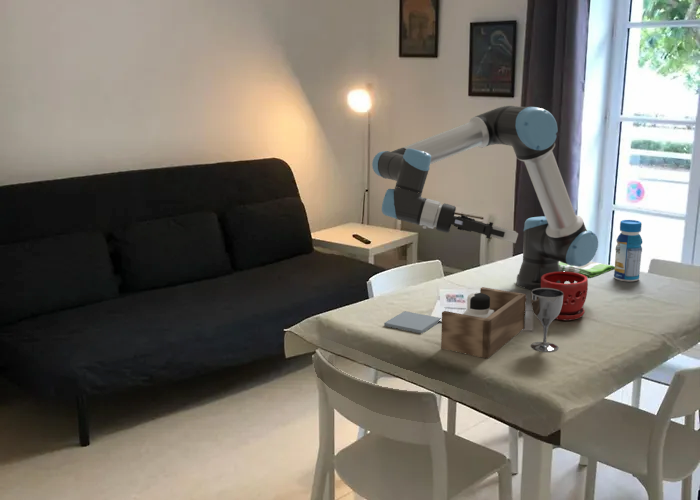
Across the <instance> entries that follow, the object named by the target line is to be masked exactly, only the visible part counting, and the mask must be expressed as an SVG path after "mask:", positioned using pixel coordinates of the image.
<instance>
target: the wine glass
mask: <svg viewBox="0 0 700 500" xmlns="http://www.w3.org/2000/svg"><path fill="white" fill-rule="evenodd" d="M530 296H531V297H530V299H531V300H530V301H531V302H530V303H531V308H532V312H533V314H534V316H535V317H536V318H537V319H538V320H539V321H540V323H541V327H542V329H543V338H542V339H543V340H542V341H537V342H533V343H531V344H530V349H532V350H534V351H537V352H541V351H542V353H552V352H556V351H558V350H559V346H558V345H557V344H555V343H553V342H548V341H547V336H548V331H549V326H550V325H551V323H552V322H553V321H555V320H556V319H555V318H556V317H557V316H558V315H559V314H560V311H561V308H562V304H563V292H562V291H560V290H557V289H553V288H537V289H534V290H531V294H530Z"/></svg>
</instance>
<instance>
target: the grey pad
mask: <svg viewBox="0 0 700 500" xmlns="http://www.w3.org/2000/svg"><path fill="white" fill-rule="evenodd" d="M440 319H441V320H442V317H438V316H431V315H427V314H422V313H418V312H413V311H407V310H404V311H402V312H401V313H399V314H397V315H396V316H394V317H391V318H390V319H388V320H386V321H385V322H383V324H384V327H386V326H388V328H391V327H392V329H396V328H398V329H397V330H401V329H403V330H402V331H405V330H407V332H410V331H412V332H411V333H415V332H416V334H420V333H422V334H423V332H424V333H425V332H427V331H428V330H430V329H432V328H433V327H435V326H436V325H437V323H438V322H439V320H440ZM439 323H440V322H439ZM439 323H438V324H439ZM434 325H435V326H434ZM426 330H427V331H426Z"/></svg>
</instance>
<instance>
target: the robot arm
mask: <svg viewBox="0 0 700 500" xmlns="http://www.w3.org/2000/svg"><path fill="white" fill-rule="evenodd" d="M558 132H559V131H558V123H557V121H556V118H555V117H554V115H553V114H552V113H551V112H550V111H549V110H546V109H544V108H542V107H541V108H540V107H537V106H519V105H518V106H515V105H504V106H500V107H496V108H493V109H491V110H489V111H486V112H483V113H480V114H479V115H475V116H473V117H471V118H470V119H469V121H468V122H467V123H463V124H461V125H459V126H456V127H454V128H451V129H448V130H445V131H442V132H440V133H438V134H434V135H432V136H429V137H427V138H424V139H422V140H418V141H416V142H414V143H411V144H409V145H405V146H403V147H401V148H397V149H394V150H392V151H390V150H389V151H388V150H386V151H380V152H379V151H378V152H377V153H376V154H375V155H374V157H373V159H372V161H371V162H372V163H371V166H372V169H373V172H374V174H376V175H377V176H378V177H381V178H383V179H386V180H392V181H395V182H396V183H395V186H394V188H388V189H387V190H386V192H385V194H384V197H383V200H382V204H381V212H382V214H383V215H384V216H387V217H389V218H393V219H395V220H399V221H403V222H407V223H410V224H413V225H418V226H422V229H423V230H424V229H425V230H426V229H427V228H428V229H432V230H433V229H436V230H437V231H439V232H443V233H445V234H446V233H447V234H448V233H449V232H450V230H451V228H452V225H453V226H454V227H455V228H457V230H460V231H467V232H474V233H477V234H481V235H484V236H485V238H486V239H488V240H489V239H491V238H494V239H498V240H502V241H504V242H509V243H513V244H516V243H517V239H518V237H519V233H518V232H517V231H516V230H512V229H508V228H505V227H501V226H498V225H494V222H492V221H490V222H489V223H485V222H481V221H477V220H476V219H475V218H472V217H469V216H468V215H464V214H461V215H460V216H457V215H456V216H455V214H456V210H457V208H456V206H455V205H453V204H448V203H442V202H441V201H438V200H435V199H430V198H426V197H423V196H422V195H423V190H424V187H425V184H426V180H427V177H428V175H429V171H430V166H431V165H432V164H436V163H438V162H441V161H442V160H445V159H447V158H450V157H453V156H456V155H459V154H460V153H461V154H462V153H464V152H467V151H468V150H471V149H473V148H476V147H479V148H481V149H482V148H485V147H488V146H491V145H492V146H493V145H505V146H509V147H511V146H512V149H513V152H514V154H515V156H516V159H517V160H519V161H521V162H523V163H524V165H525V167H526V170H527V172H528V175H529V178H530V181H531V183H532V185H533V188H534V191H535V193H536V196H537V200H538V201H539V204H540V207H541V209H542V212H543V214H544V216H543V215H541V216H534V217H529V218H527V219H526V220H525V222H524V225H523V226H524V227H523V246H522V247H523V248H522V262H521V266H520V268H519V271H518V274H517V275H516V281H515V282H516V285H517V286H518V287H520V288H522V289H525V290H531V291H532V290H534V289H537V288H541V277H542V276H543V275H544V274H547V273H551V272H561V270H560V266H559V261H560V262H562V263H565V264H568V265H571V266H577V267H581V266H584V265H586V264H588V263H589V262H592V260H593V259H594V258H595V256H596V253H597V252H598V247H599V240H598V236H597V234H596V233H595V232H593V231H592V230H587V228H586V225H585V223H584V220H583V218H582V217H581V216H579V215H577V214H576V212H575V209H574V207H573V204H572V201H571V199H570V196H569V193H568V190H567V188H566V185H565V183H564V179H563V177H562V174H561V171H560V168H559V167H558V163H557V160H556V157H555V155H554V151H553V150H554V148H555V147H556V139H557V133H558ZM556 283H560V281H557V282H556Z"/></svg>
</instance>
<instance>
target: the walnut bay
mask: <svg viewBox="0 0 700 500" xmlns="http://www.w3.org/2000/svg"><path fill="white" fill-rule="evenodd" d="M479 291H480V292H479V293H484V294H486V295H488V296H489V297H490V310H494V313H493V314H491V315H490V316H489V317H487V318H480V317H475V316H469V315H464V314H463V313H458V312H453V311H446V310H443V311H442V312H441V339H440V340H441V342H440V343H441V345H440V346H441V347H440V348H442V349H441V350H445V349H447V350H446V351H450V350H452V351H451V352H454V351H457V352H456V353H459V352H461V353H460V354H463V353H466V354H465V355H468V354H469V356H473V357H479V358H483V359H489V358H490V357H492V356H493V355H494V354H495V353H497V352H498V351H499V350H501V348H502V347H503V346H505V345H506V344H507V343H509V342H510V341H511V340H512V339H513V338H514V337H516V336H517V335H518V334H520V331H521V330H522V329H523V330H524V329H526V327H525V325H526V303H527V293H522V292H515V291H509V290H503V289H496V288H491V287H485V286H484V287H483V286H482V287H480V289H479ZM523 330H522V331H523ZM522 331H521V332H522Z"/></svg>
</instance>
